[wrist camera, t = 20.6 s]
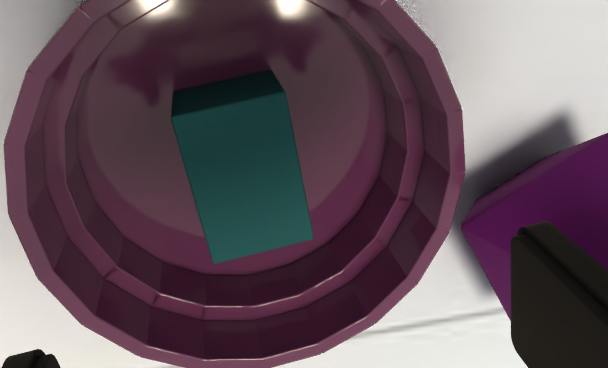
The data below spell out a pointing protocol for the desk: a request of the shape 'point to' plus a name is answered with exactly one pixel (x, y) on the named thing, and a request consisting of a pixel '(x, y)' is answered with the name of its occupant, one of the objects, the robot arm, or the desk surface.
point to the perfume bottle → (543, 210)
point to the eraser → (242, 165)
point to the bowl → (177, 192)
